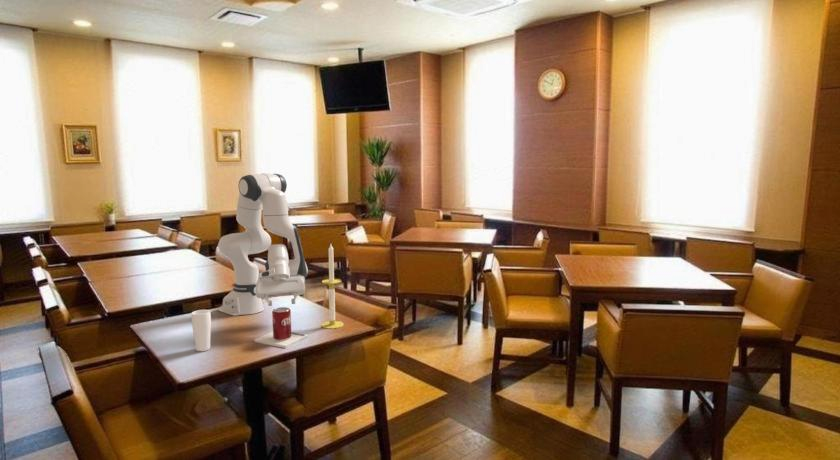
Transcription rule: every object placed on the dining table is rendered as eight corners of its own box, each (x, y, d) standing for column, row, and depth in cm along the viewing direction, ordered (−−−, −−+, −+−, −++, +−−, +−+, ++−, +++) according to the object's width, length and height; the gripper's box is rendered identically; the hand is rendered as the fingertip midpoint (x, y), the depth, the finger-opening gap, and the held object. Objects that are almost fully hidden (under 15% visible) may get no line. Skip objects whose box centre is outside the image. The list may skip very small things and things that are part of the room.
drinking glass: (205, 353, 185) (203, 315, 183) (189, 352, 186) (187, 314, 184) (216, 347, 191) (214, 310, 189) (200, 345, 193) (198, 308, 191)
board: (254, 341, 197) (254, 339, 197) (278, 331, 210) (278, 328, 209) (285, 348, 190) (285, 345, 190) (308, 337, 203) (308, 334, 203)
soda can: (269, 340, 196) (268, 311, 194) (277, 334, 203) (276, 306, 201) (286, 341, 195) (285, 312, 193) (294, 335, 202) (293, 307, 200)
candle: (337, 320, 225) (335, 240, 220) (347, 326, 217) (346, 243, 212) (317, 324, 219) (315, 242, 214) (327, 330, 211) (325, 245, 206)
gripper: (303, 278, 216) (306, 305, 208) (255, 281, 209) (256, 310, 202) (304, 270, 211) (307, 298, 203) (254, 273, 204) (256, 302, 197)
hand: (281, 304), depth 202 cm, fingers open, 8 cm apart
